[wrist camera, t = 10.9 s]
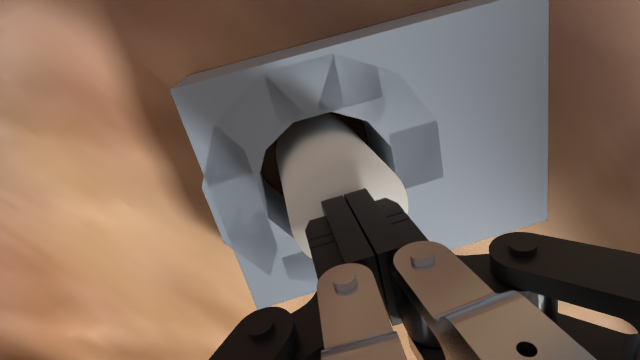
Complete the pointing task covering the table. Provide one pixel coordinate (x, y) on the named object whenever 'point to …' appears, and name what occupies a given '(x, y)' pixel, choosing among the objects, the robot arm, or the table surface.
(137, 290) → the table surface
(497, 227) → the jig
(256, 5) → the table surface
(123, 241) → the table surface
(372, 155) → the white rounded capsule
